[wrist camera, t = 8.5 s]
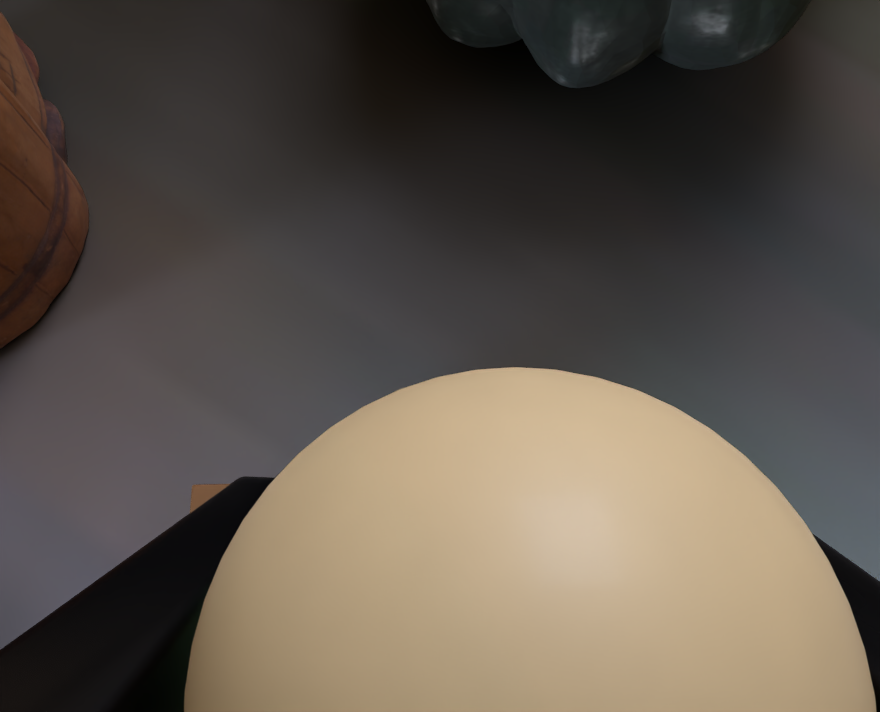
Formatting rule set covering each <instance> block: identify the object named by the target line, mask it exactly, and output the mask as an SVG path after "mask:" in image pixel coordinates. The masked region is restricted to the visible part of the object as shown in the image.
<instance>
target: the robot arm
mask: <svg viewBox="0 0 880 712" xmlns="http://www.w3.org/2000/svg"><path fill="white" fill-rule="evenodd" d="M274 479H275V478H267V477H241V478H239V479H237V480H235V481H234V482H233V483H231V484H230V485H228V486H227V487H226V488H224V489H223V490H221V491H220V492H219V493H217V494H216V495H215V496H213V497H212V498H210V499H209V500H208V501H206V502H205V503H203V504H202V505H201V506H199V507H198V508H196V509H195V510H194V511H192V512H191V513H190V514H188V515H187V516H185V517H184V518H183V519H181V520H180V521H178V522H177V523H176V524H174V525H173V526H172V527H170V528H169V529H167V530H166V531H165V532H163V533H162V534H160V535H159V536H158V537H156V538H155V539H154V540H152V541H151V542H149V543H148V544H147V545H145V546H144V547H142V548H141V549H140V550H138V551H137V552H135V553H134V554H133V555H131V556H130V557H129V558H127V559H126V560H124V561H123V562H122V563H120V564H119V565H117V566H116V567H115V568H113V569H112V570H111V571H109V572H108V573H106V574H105V575H104V576H102V577H101V578H99V579H98V580H97V581H95V582H94V583H93V584H91V585H90V586H88V587H87V588H86V589H84V590H83V591H81V592H80V593H79V594H77V595H76V596H74V597H73V598H72V599H70V600H69V601H68V602H66V603H65V604H63V605H62V606H61V607H59V608H58V609H56V610H55V611H54V612H52V613H51V614H50V615H48V616H47V617H45V618H44V619H43V620H41V621H40V622H38V623H37V624H36V625H34V626H33V627H32V628H30V629H29V630H27V631H26V632H25V633H23V634H22V635H20V636H19V637H18V638H16V639H15V640H13V641H12V642H11V643H9V644H8V645H7V646H5V647H4V648H2V649H1V650H0V712H184V697H185V686H186V680H187V673H188V667H189V660H190V654H191V647H192V642H193V639H194V635H195V632H196V628H197V625H198V621H199V617H200V614H201V610H202V607H203V603H204V600H205V597H206V595H207V592H208V590H209V588H210V585H211V583H212V580H213V578H214V575H215V573H216V571H217V568H218V566H219V563H220V561H221V559H222V557H223V555H224V553H225V551H226V550H227V548H228V546H229V544H230V542H231V541H232V539H233V537H234V535H235V534H236V532H237V530H238V528H239V526H240V525H241V523H242V521H243V519H244V518H245V517H246V515H247V514H248V513H249V511H250V510H251V509H252V507H253V506H254V504H255V503H256V502H257V500H258V499H259V498H260V496H261V495H262V494H263V492H264V491H265V489H266V488H267V487H268V485H269V484H270V483H271V482H272V481H273V480H274ZM812 535H813V536H814V538H815V539H816V541H817V543H818V544H819V546H820V547H821V549H822V551H823V552H824V554H825V555H826V557H827V559H828V560H829V562H830V564H831V566H832V568H833V570H834V573H835V575H836V577H837V579H838V581H839V583H840V585H841V587H842V589H843V591H844V593H845V596H846V598H847V600H848V602H849V604H850V607H851V610H852V613H853V616H854V619H855V622H856V625H857V628H858V631H859V633H860V636H861V639H862V642H863V645H864V648H865V652H866V657H867V661H868V666H869V671H870V675H871V680H872V685H873V689H874V694H875V700H876V711H877V712H880V582H879V581H878V580H877V579H875V578H874V577H872V576H871V575H870V574H868V573H867V572H865V571H864V570H863V569H861V568H860V567H858V566H857V565H856V564H854V563H853V562H851V561H850V560H849V559H847V558H846V557H844V556H843V555H842V554H840V553H839V552H837V551H836V550H835V549H833V548H832V547H830V546H829V545H828V544H826V543H825V542H823V541H822V540H821V539H819V538H818V537H816V536H815V535H814V534H812Z"/></svg>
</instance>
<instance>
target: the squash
mask: <svg viewBox="0 0 880 712" xmlns="http://www.w3.org/2000/svg"><path fill="white" fill-rule="evenodd" d="M810 1H811V0H426V2H427V4H428V5H429V7H430V10H431V12H432V14H433V16H434V18H435V20H436V22H437V24H438V25H439V27H440V28H441V30H442V31H443V32H444V33H445V34H446V35H447V36H448V37H449V38H450V39H452V40H455V41H458V42H460V43H463V44H466V45H468V46H471V47H476V48H483V47H497V46H502V45H507V44H511V43H514V42H516V41H519V40H521V39H523V41H524V43H525V44H526V46H527V47H528V49H529V51H530V53H531V54H532V56H533V58H534V59H535V61H536V63H537V65H538V66H539V67H540V68H541V69H542V70H543V71H544V72H545V73H546V74H547V75H548V76H549V77H550V78H551V79H553V80H554V81H555V82H557V83H558V84H560V85H563V86H566V87H570V88H583V87H590V86H595V85H598V84H601V83H604V82H607V81H610V80H611V79H613V78H615V77H617V76H619V75H621V74H623V73H625V72H627V71H628V70H630V69H632V68H634V67H635V66H637V65H638V64H639V63H640V62H642V61H643V60H644V59H645V58H647V57H648V56H649V55H650V54H653V55H655V56H657V57H659V58H661V59H662V60H664V61H666V62H668V63H670V64H673V65H675V66H678V67H680V68H685V69H692V70H707V69H715V68H719V67H726V66H730V65H734V64H738V63H742V62H744V61H747V60H749V59H752V58H753V57H755V56H757V55H759V54H761V53H763V52H765V51H766V50H768V49H769V48H770V47H772V46H773V45H774V44H775V43H776V42H778V41H779V40H780V39H781V38H783V37H784V36H785V35H786V34H787V33H788V32H789V31H790V30H791V28H792V27H793V26H794V25H795V24H796V22H797V21H798V20H799V18H800V17H801V15H802V14H803V12H804V11H805V9H806V8H807V6H808V4H809V3H810Z"/></svg>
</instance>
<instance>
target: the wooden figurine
mask: <svg viewBox="0 0 880 712" xmlns="http://www.w3.org/2000/svg"><path fill="white" fill-rule="evenodd" d="M39 73H40V69H39V66H38V64H37V61H36V59H35V56H34V54H33V52H32V51H31V50H30V49H29V48H28V47H27V46H26V44H25V43H24V42H23V41H22V40H21V39H20V38H19V37H18V36H17V35H16V34H15V33H14V32H13V31H12V29H11V27H10V25H9V23H8V22H7V20H6V18H5V17H4V16H3V14H2V13H1V12H0V349H1V348H2V347H4V346H5V345H6V344H7V343H9V342H10V341H12V340H13V339H14V338H16V337H17V336H19V335H20V334H22V333H23V332H25V331H26V330H28V329H29V328H31V327H32V326H33V325H35V324H36V322H37V321H38V320H39V319H40V318H41V317H42V316H43V315H44V313H45V312H46V310H47V309H48V307H49V305H50V303H51V302H52V301H53V299H54V298H55V297H56V296H57V295H58V294H59V292H60V291H61V290H62V289H63V288H64V287H65V286H66V284H67V283H68V281H69V279H70V277H71V275H72V272H73V270H74V267H75V265H76V263H77V261H78V259H79V257H80V255H81V253H82V250H83V247H84V241H85V239H86V236H87V232H88V227H89V210H88V204H87V200H86V198H85V195H84V192H83V189H82V188H81V186H80V184H79V183H78V181H77V180H76V178H75V176H74V175H73V173H72V172H71V170H70V169H69V168H68V166H67V151H66V143H65V127H64V122H63V119H62V116H61V115H60V113H59V111H58V109H57V108H56V107H55V106H54V105H53V104H52V103H51V102H50V101H48V100H45V99H43V98H42V96H41V93H40V90H39V87H38V85H37V84H38V80H39Z"/></svg>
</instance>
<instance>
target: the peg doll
mask: <svg viewBox="0 0 880 712" xmlns="http://www.w3.org/2000/svg"><path fill="white" fill-rule="evenodd" d="M184 712H877V711H876V700H875V694H874V689H873V685H872V680H871V675H870V671H869V666H868V661H867V657H866V652H865V648H864V645H863V642H862V639H861V636H860V633H859V631H858V628H857V625H856V622H855V619H854V616H853V613H852V610H851V607H850V604H849V602H848V600H847V598H846V596H845V593H844V591H843V589H842V587H841V585H840V583H839V581H838V579H837V577H836V575H835V573H834V570H833V568H832V566H831V564H830V562H829V560H828V559H827V557H826V555H825V554H824V552H823V551H822V549H821V547H820V546H819V544H818V543H817V541H816V539H815V538H814V536H813V535H812V533H811V532H810V530H809V528H808V527H807V525H806V524H805V522H804V521H803V519H802V518H801V517H800V516H799V514H798V513H797V512H796V511H795V509H794V508H793V507H792V506H791V504H790V503H789V502H788V501H787V499H786V498H785V497H784V496H783V494H782V493H781V492H780V491H779V489H778V488H777V487H776V486H775V485H774V484H773V483H772V482H771V481H770V480H769V479H768V478H767V477H766V476H765V475H764V474H763V473H762V472H761V471H760V470H759V469H758V468H757V467H756V466H755V465H754V464H753V463H752V462H751V461H750V460H749V459H748V458H747V457H746V456H745V455H743V454H742V453H741V452H740V451H738V450H737V449H736V448H735V447H733V446H732V445H731V444H729V443H728V442H727V441H726V440H724V439H723V438H722V437H720V436H719V435H718V434H717V433H715V432H714V431H713V430H711V429H710V428H708V427H707V426H705V425H703V424H702V423H700V422H698V421H697V420H695V419H694V418H692V417H690V416H689V415H687V414H685V413H684V412H682V411H680V410H679V409H677V408H675V407H673V406H671V405H669V404H667V403H665V402H662V401H660V400H658V399H656V398H654V397H651V396H649V395H647V394H645V393H643V392H640V391H638V390H636V389H632V388H629V387H626V386H623V385H620V384H617V383H613V382H610V381H607V380H604V379H601V378H597V377H592V376H587V375H582V374H576V373H571V372H565V371H560V370H554V369H538V368H521V367H510V368H495V369H479V370H472V371H467V372H462V373H456V374H451V375H446V376H441V377H436V378H433V379H430V380H427V381H424V382H421V383H418V384H415V385H412V386H409V387H406V388H403V389H400V390H397V391H395V392H393V393H391V394H389V395H387V396H385V397H383V398H381V399H378V400H376V401H374V402H372V403H370V404H368V405H366V406H364V407H362V408H360V409H359V410H357V411H356V412H354V413H353V414H351V415H349V416H348V417H346V418H345V419H343V420H342V421H340V422H338V423H337V424H335V425H334V426H332V427H331V428H329V429H328V430H327V431H325V432H324V433H323V434H322V435H321V436H319V437H318V438H317V439H316V440H315V441H313V442H312V443H311V444H310V445H308V446H307V447H306V448H305V449H304V450H302V451H301V452H300V453H299V454H298V455H297V456H296V457H295V458H294V459H293V460H292V461H291V462H290V463H289V464H288V465H287V466H286V467H285V468H284V469H283V470H282V472H281V473H280V474H279V475H278V476H277V477H276V478H275V479H274V480H273V481H272V482H271V483H270V484H269V485H268V487H267V488H266V489H265V491H264V492H263V494H262V495H261V496H260V498H259V499H258V500H257V502H256V503H255V504H254V506H253V507H252V509H251V510H250V511H249V513H248V514H247V515H246V517H245V518H244V519H243V521H242V523H241V525H240V526H239V528H238V530H237V532H236V534H235V535H234V537H233V539H232V541H231V542H230V544H229V546H228V548H227V550H226V551H225V553H224V555H223V557H222V559H221V561H220V563H219V566H218V568H217V571H216V573H215V575H214V578H213V580H212V583H211V585H210V588H209V590H208V592H207V595H206V597H205V600H204V603H203V607H202V610H201V614H200V617H199V621H198V625H197V628H196V632H195V635H194V639H193V642H192V647H191V654H190V660H189V667H188V673H187V680H186V686H185V697H184Z"/></svg>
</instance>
